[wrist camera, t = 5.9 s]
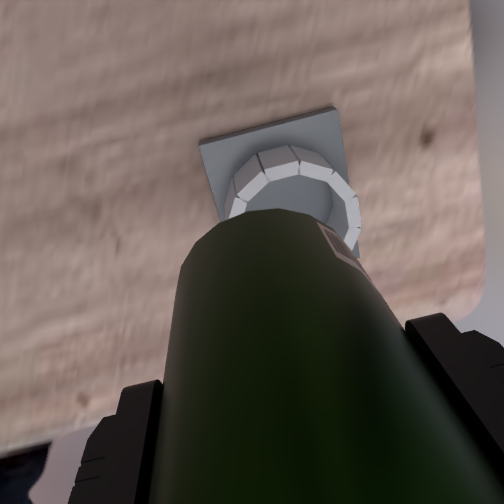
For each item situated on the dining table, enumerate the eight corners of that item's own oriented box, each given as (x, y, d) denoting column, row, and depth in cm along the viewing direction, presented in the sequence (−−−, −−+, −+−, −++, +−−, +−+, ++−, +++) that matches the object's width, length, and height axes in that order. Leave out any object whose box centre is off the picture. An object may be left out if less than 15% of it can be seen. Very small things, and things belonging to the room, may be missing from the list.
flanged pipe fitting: (199, 141, 30) (197, 162, 26) (333, 106, 30) (355, 120, 25) (239, 279, 35) (243, 317, 31) (355, 250, 35) (377, 284, 30)
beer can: (257, 160, 12) (587, 1012, 2) (387, 270, 14) (966, 1023, 3) (141, 295, 14) (-113, 1226, 3) (273, 379, 16) (413, 1153, 5)
